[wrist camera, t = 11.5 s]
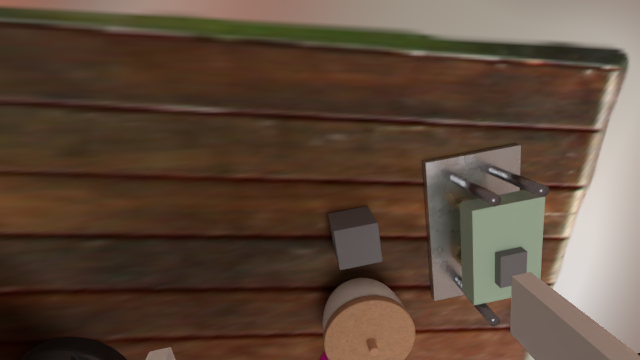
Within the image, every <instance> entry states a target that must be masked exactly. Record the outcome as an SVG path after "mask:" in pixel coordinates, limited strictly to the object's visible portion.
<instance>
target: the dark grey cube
mask: <svg viewBox="0 0 640 360" xmlns="http://www.w3.org/2000/svg"><path fill="white" fill-rule="evenodd" d="M328 217H329V223H330V229H331V235H332V241H333V247H334V251H335V254H336V258H337V261H338V265H339V268H340V270H343V269H348V268H353V267H358V266H363V265H368V264H373V263H378V262H382V254H381V246H380V237H379V229H378V222H377V221H376V219H375V218H374V216H373V215H372V213H371V212H370V210H369V209H368V207H367V206H365V207H360V208H355V209H350V210H344V211H339V212H334V213H329V214H328Z"/></svg>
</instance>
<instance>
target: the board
mask: <svg viewBox="0 0 640 360" xmlns="http://www.w3.org/2000/svg"><path fill="white" fill-rule="evenodd" d="M498 196H500V197H501V202H500V204H499V205H498V206H495V207H493V206H491V205H489V204H487V203H486V202H484V201H482V200H481V199H474V200H469V201H464V202H460V226H461V258H462V290H463V293H464V294H465V295H466V297H467V298H468V299H469V300H470V301H471V302H472V304H473V305H478V304H483V303H488V302H492V301H497V300H502V299H506V298H511V290H512V276H514V275H519V274H524V273H529V272H531V273H532V274H534V275H535V276H536V277H538V278H539V279H540V276H541V258H542V241H543V223H544V205H545V197H539V196H537V195H535V194H533V193H530V192H528V191H526V190H520V191H515V192H510V193H505V194H500V195H498Z"/></svg>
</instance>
